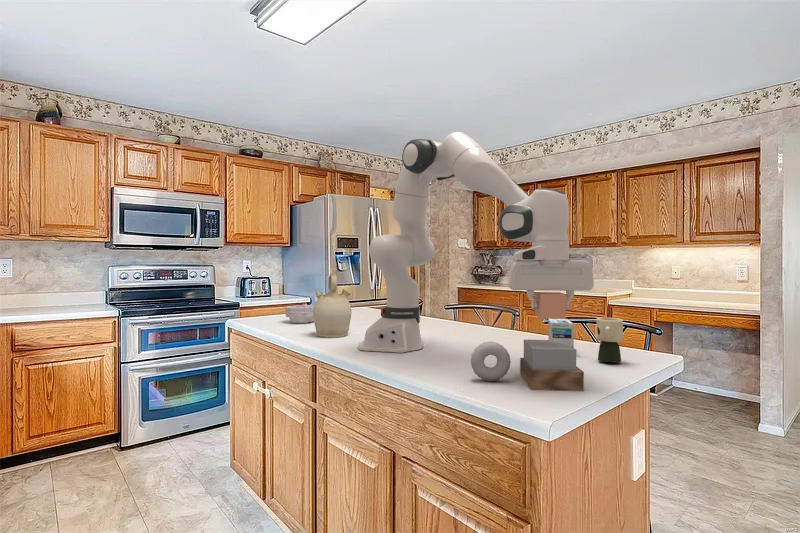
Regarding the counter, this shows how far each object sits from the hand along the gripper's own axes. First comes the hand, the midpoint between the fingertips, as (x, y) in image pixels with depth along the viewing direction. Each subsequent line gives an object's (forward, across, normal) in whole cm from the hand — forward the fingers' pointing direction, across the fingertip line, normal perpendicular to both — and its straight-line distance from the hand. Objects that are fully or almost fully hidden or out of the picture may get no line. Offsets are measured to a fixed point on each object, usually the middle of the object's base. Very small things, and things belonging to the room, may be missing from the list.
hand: (550, 308), depth 112 cm
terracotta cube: (+2, 0, 0) cm, 2 cm away
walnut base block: (+19, 0, 0) cm, 19 cm away
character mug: (+19, -23, -23) cm, 37 cm away
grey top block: (+14, 0, 0) cm, 14 cm away
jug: (+18, +70, -62) cm, 95 cm away
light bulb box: (+19, -12, -35) cm, 42 cm away
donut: (+19, +15, 0) cm, 24 cm away
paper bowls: (+18, +93, -96) cm, 135 cm away
